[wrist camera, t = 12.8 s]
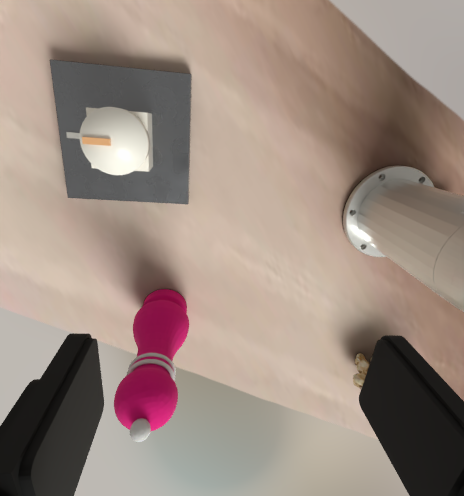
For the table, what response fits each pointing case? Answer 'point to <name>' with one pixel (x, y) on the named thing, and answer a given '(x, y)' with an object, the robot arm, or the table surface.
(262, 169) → the table surface
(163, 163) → the grey thin square slab
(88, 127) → the knob
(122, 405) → the pepper mill
